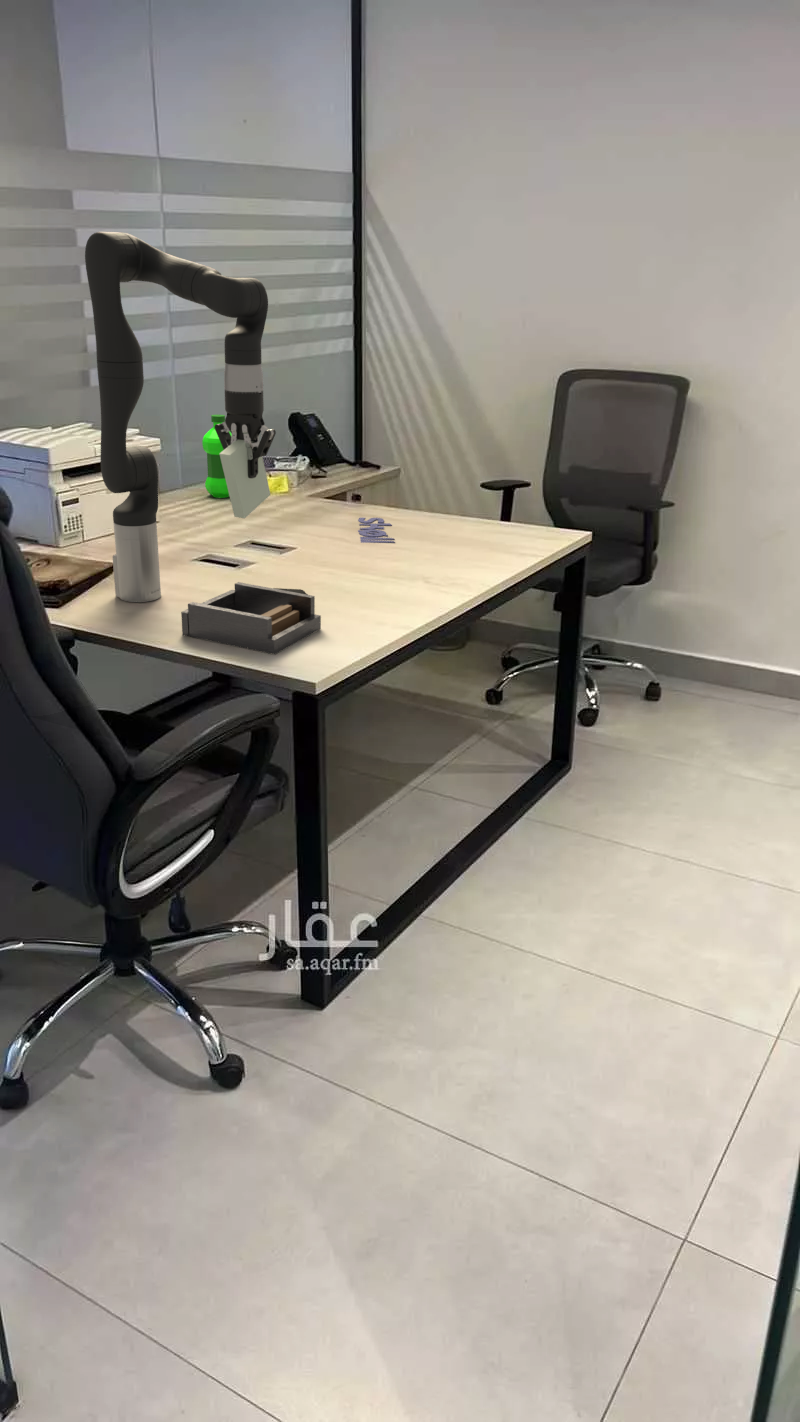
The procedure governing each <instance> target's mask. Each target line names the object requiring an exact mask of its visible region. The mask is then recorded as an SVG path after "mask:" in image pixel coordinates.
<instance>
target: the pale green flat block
mask: <svg viewBox="0 0 800 1422" xmlns="http://www.w3.org/2000/svg"><path fill="white" fill-rule="evenodd" d="M252 442H253V441H251V443H252ZM263 457H264V456H262V457H259V459H258V475H256V477H255V478H248V460H249V459H248V455H247V448H246V446H245V442H244V440H237V441H234V442H233V443H232V444H231V445H229V446H228V447H227V448H226V449H224V450H223V451H222V452H221V453H220V458H221V463H222V467H223V471H224V475H225V479H226V483H227V488H228V492H229V498H230V499H229V500H230V503H231V508H232V511H233V517H234V518H238V519H246V518H247V517H248V516H249V515H250V514H251V513H253V512H254V510H256V509H257V508H258V507H259V506H260V505H261V504H263V502H264V501H266V499H268V498H269V497H270V496H271V492H270V486H269V481H268V476H267V472H266V467H265V462H264V459H263Z"/></svg>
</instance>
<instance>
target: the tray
mask: <svg viewBox="0 0 800 1422" xmlns="http://www.w3.org/2000/svg"><path fill="white" fill-rule="evenodd" d="M274 588H275V587H273V588H272V587H267V586H261V585H256V584H253V583H252V584H251V583H245V582H240V581H238V582H236V583H234V589H230V590H228V591H226V592H224V593H221V594H219V595H217V596H214V597H211V598H210V599H208V600H206V601H203V602H201V603H200V602H195V601H192V602H188V603H187V609H184V610H182V611H181V613H180V614H181V632H182V633H181V634H182V636H184V635H185V637H190V638H193V639H194V638H195V639H198V640H199V639H200V640H203V641H209V642H212V643H213V642H214V643H217V644H218V643H219V644H222V645H227V646H230V647H231V646H232V647H236V648H242V649H246V650H250V651H251V650H252V651H256V652H261V653H264V654H270V655H273V656H274V655H276V654H278V653H280V652H282V651H285V649H287V648H289V647H291V646H293V645H295V644H296V643H298V642H300V641H302V640H304V639H305V638H307V637H309V636H311V635H313V634H315V633H317V632H318V631H320V630H322V627H321V625H322V624H321V623H322V619H321V618H322V615H320V614H315V612H316V611H315V610H316V609H315V607H316V606H315V603H316V602H315V599H316V598H315V595H310V594H308V595H306V594H307V593H306V594H301V593H295V592H290V591H284V590H279V589H274ZM281 605H292V611H293V610H297V611H299V623H297V624H295V625H293V626H291V627H290V628H288V629H286V630H284V631H282V632H280V633H278V634H276V635H274V636H272V617H267V616H262V614H264V613H266V612H268V611H270V610H272V609H274V608H276V607H279V606H281Z"/></svg>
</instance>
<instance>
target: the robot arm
mask: <svg viewBox="0 0 800 1422" xmlns="http://www.w3.org/2000/svg"><path fill="white" fill-rule="evenodd" d="M84 248H85V249H84V263H85V270H86V277H87V283H88V287H89V294H90V300H91V306H92V313H93V314H92V315H93V323H94V333H95V334H94V336H95V346H96V347H95V350H96V367H97V379H98V380H97V381H98V389H99V403H100V429H101V430H100V472H101V477H102V481H103V483H104V485H105V487H106V488H107V490H109V491H110V493H114V494H123V493H128V494H129V495H128V496H127V497H126V498H125V499H124V500H123V501H122V502H121V503H119V505H117V506H116V507H115V508H113V511H112V521H113V532H114V533H113V534H114V546H115V554H113V555H112V567H113V578H114V593H115V597H117V598H119V599H120V600H122V601H124V602H130V603H146V602H152V601H155V600H158V599H160V598H161V596H162V592H161V591H162V590H161V589H162V588H161V574H160V573H161V570H160V557H159V555H160V554H159V541H158V540H159V539H158V525H157V523H158V522H157V513H158V509H159V471H158V470H159V469H158V463H157V460H156V457H155V455H154V453H153V451H152V450H151V449H150V448H149V447H147V446H144V445H138V446H137V445H136V446H128V447H127V433H128V431H127V430H128V425H129V422H130V419H131V416H132V414H133V412H134V410H135V409H136V405H137V404H138V401H139V399H140V396H141V395H142V392H143V388H144V383H145V382H144V381H145V380H144V377H145V376H144V362H143V352H142V348H141V346H140V343H139V340H138V338H137V337H136V335H135V333H134V331H133V329H132V328H131V325H130V323H129V321H128V319H127V318H126V315H125V313H124V308H123V305H122V304H123V303H122V297H121V296H122V295H121V283H129V282H135V281H137V282H147V283H153V284H158V285H160V286H162V287H164V288H165V289H167V290H168V291H169V292H170V293H172V294H173V295H174V296H177V297H179V298H181V299H184V300H187V301H189V302H192V303H195V304H199V305H202V306H204V307H206V308H208V309H209V310H211V311H213V312H215V313H216V314H219V315H220V316H223V317H226V318H230V319H232V318H233V319H234V318H235V319H236V321H235V326H234V329H232V330H229V332H227V333H226V334H225V336H224V372H223V373H224V374H223V384H224V385H223V386H224V409H225V410H224V411H225V412H226V415H225V422H223V423H221V424H216V425H215V430H216V433H217V435H218V437H219V440H220V442H221V444H222V447H223V449H226V448H227V447H228V446H229V445H231V444H232V443H233V442H234V441H237V440H244V442H245V446H246V448H247V455H248V459H249V460H248V478H255V477H256V475H258V459H259V457H266V456H267V454H268V452H269V450H270V447H271V445H272V443H273V440H274V439H275V436H276V434H277V432H276V429H274V428H271V429H270V428H269V427H268V426H267V425H265V423H266V422H265V420H264V418H263V414H264V411H265V410H264V409H265V408H264V407H265V406H264V405H265V404H264V402H265V401H264V375H263V374H264V373H263V368H262V367H263V366H262V338H263V334H264V332H265V324H266V319H267V316H268V309H269V298H268V294H267V290H266V288H265V285H264V284H263V283H262V282H261V281H260V280H259V279H258V278H254V277H229V276H225V275H223V274H222V273H221V272H220V271H219V270H216V269H215V268H213V267H210V266H207V265H204V264H201V263H197V262H196V261H195V262H194V261H192V260H188V259H185V258H181V257H178V256H174V255H172V254H169V253H166V252H164V251H162V250H160V249H158V248H156V247H154V246H152V245H150V243H147V242H145V241H144V240H143V239H141V238H138V237H136V236H134V235H133V234H130V233H127V232H120V231H119V232H117V231H97V232H93V233H91V235H90V236H89V238H88V239H87V241H86V244H85V247H84ZM229 432H230V433H231V435H230V433H229ZM260 437H261V438H260ZM251 441H253V442H252V443H251Z"/></svg>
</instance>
